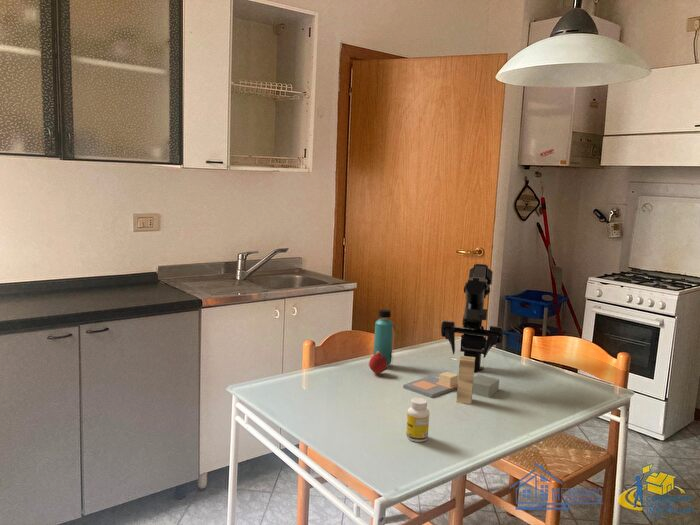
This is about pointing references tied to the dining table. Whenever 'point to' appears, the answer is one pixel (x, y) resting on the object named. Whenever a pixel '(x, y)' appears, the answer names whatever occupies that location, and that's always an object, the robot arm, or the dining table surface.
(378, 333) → the beverage bottle
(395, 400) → the dining table surface
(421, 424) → the supplement bottle
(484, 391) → the cover
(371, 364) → the onion
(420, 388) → the board
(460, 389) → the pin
